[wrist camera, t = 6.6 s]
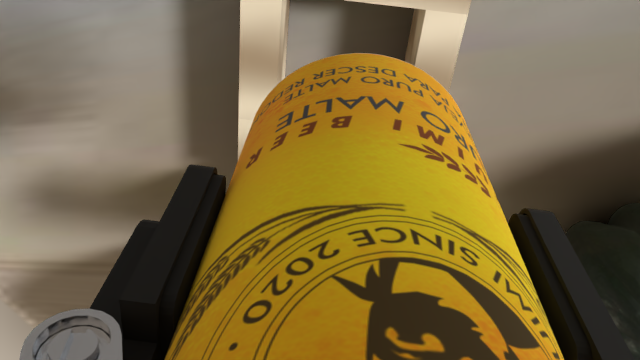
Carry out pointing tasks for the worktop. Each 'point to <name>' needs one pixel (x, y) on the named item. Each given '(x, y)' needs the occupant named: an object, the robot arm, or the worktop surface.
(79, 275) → the worktop surface
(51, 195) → the worktop surface
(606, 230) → the squash
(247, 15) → the socket
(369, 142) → the beer can
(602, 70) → the worktop surface
